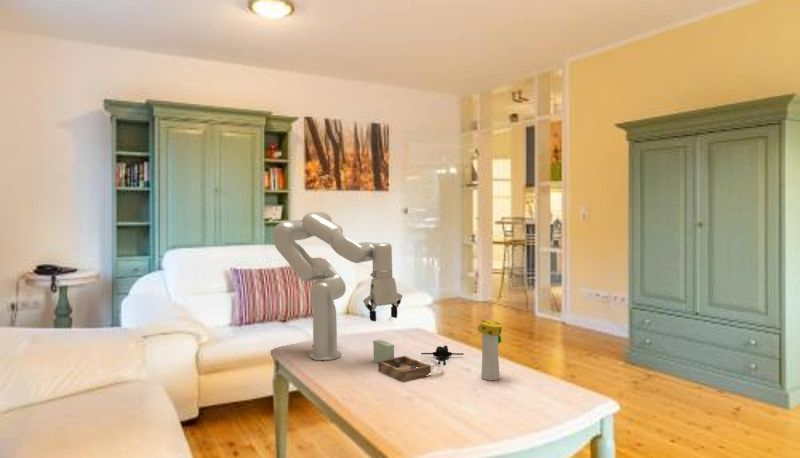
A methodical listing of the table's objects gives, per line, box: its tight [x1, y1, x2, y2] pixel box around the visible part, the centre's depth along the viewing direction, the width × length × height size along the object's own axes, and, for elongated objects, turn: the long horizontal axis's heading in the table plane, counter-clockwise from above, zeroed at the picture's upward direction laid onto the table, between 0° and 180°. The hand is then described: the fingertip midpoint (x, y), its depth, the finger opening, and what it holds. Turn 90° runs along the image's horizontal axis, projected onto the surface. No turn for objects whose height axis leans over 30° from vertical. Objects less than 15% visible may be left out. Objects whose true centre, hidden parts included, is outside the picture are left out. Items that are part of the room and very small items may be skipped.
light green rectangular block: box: [372, 339, 395, 363], centre depth 202 cm, size 10×3×8 cm, turn 35°
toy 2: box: [477, 318, 503, 381], centre depth 182 cm, size 8×9×20 cm
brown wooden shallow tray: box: [377, 355, 432, 383], centre depth 189 cm, size 16×12×4 cm
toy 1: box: [420, 345, 465, 366], centre depth 205 cm, size 17×5×15 cm
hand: (383, 319), depth 201 cm, fingers open, 9 cm apart
